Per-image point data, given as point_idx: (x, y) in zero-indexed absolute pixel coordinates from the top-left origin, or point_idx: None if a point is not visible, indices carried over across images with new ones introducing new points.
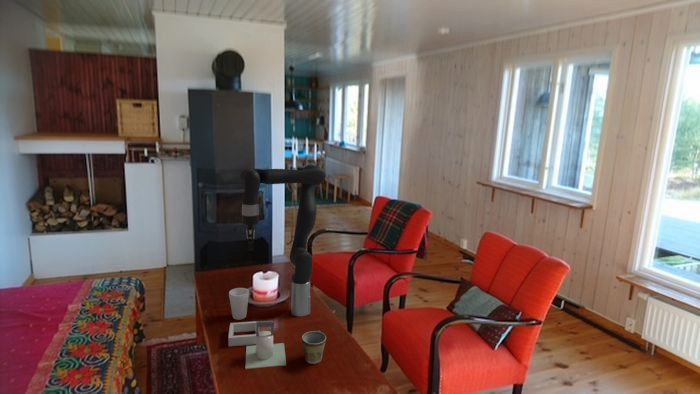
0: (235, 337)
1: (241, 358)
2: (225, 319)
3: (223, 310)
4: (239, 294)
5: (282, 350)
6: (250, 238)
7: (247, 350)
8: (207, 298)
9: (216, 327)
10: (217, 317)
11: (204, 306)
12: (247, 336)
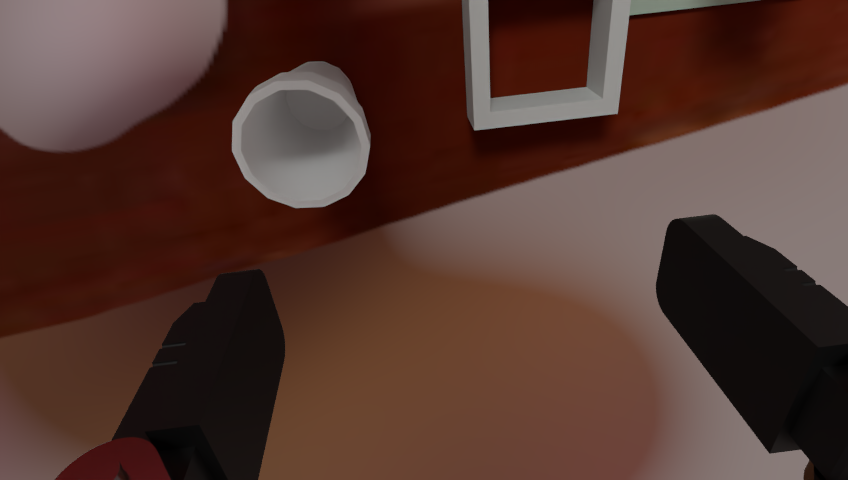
0: (620, 80)
1: (712, 25)
2: None
3: None
4: (256, 139)
5: None
6: (240, 450)
7: (667, 4)
8: (148, 279)
9: (429, 183)
10: None
11: None
12: (627, 17)
